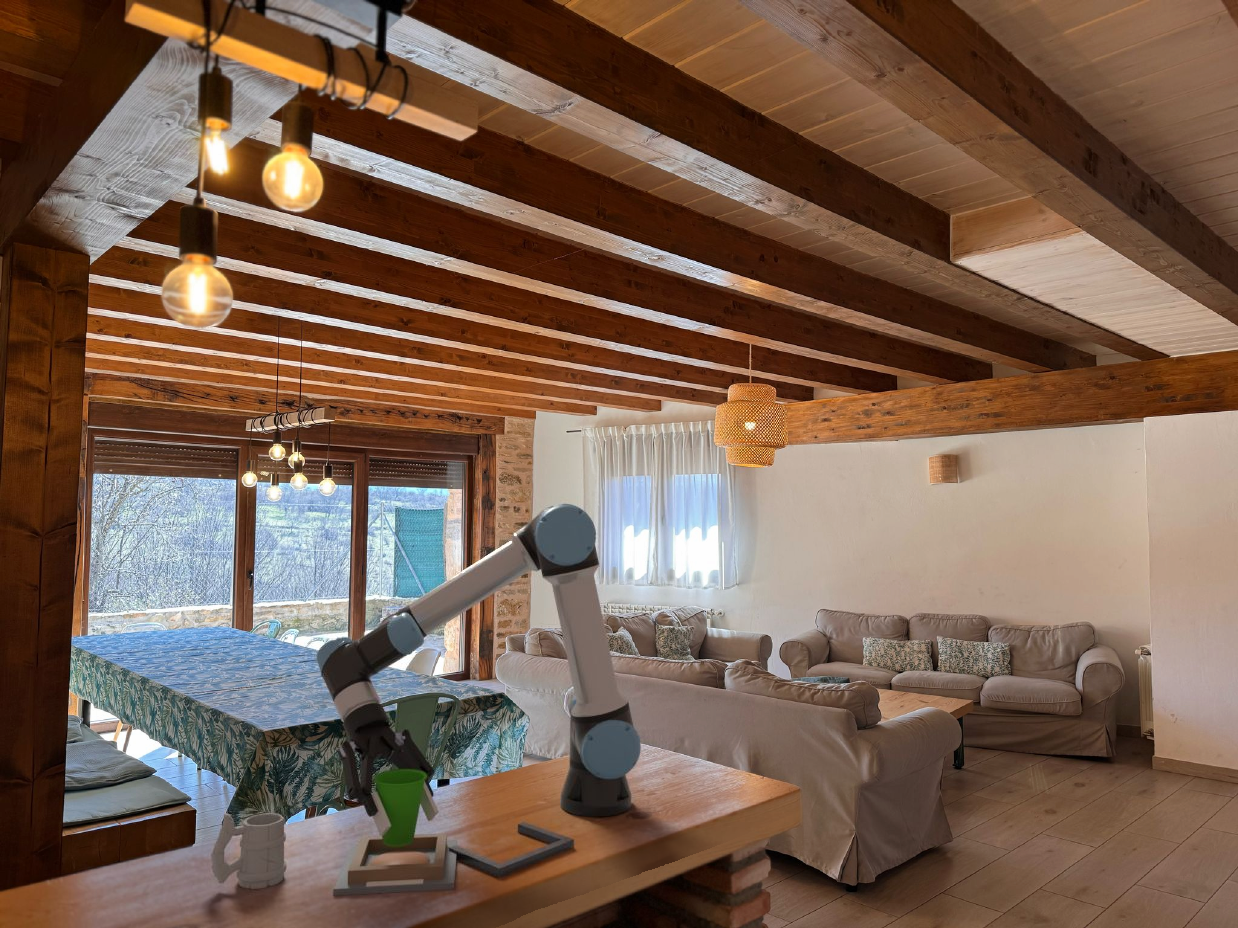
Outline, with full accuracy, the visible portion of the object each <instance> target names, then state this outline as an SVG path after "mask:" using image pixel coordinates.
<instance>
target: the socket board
mask: <svg viewBox="0 0 1238 928" xmlns="http://www.w3.org/2000/svg"><path fill="white" fill-rule="evenodd" d="M455 845H457V846H458V839H456V840H455V839H454V840H451V839H450V840H448V833H447V832H443V833H441V832H440V833H422V834H421V833H419V834H416V833H415V834H414V839H413V840H412V842H411V843H410V844H408V845H404V846H388V845H385V844H384V841H383V839H382V835H381V836H380V835H371V836H360V839H359V841H358V843H356V844H351V845H350V847H349V850H348V852H347V855H346V857H345V860H344V861H343V864H342V867H341V869H340V872H339V874H338V877H337V879H336V882H335V884H334V887H333V889H332V890H333V891H332V892H333V893H332V895H333V896H352V895H368V894H371V895H372V894H388V893H389V894H390V893H407V892H408V893H409V892H424V891H425V892H427V891H428V892H429V891H445V890H450V891H451V890H454V889H455V881H456V880H455V878H456V868H457V867H456V865H457V860H456V853H454V852H451V851H449V847H452V846H455Z"/></svg>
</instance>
